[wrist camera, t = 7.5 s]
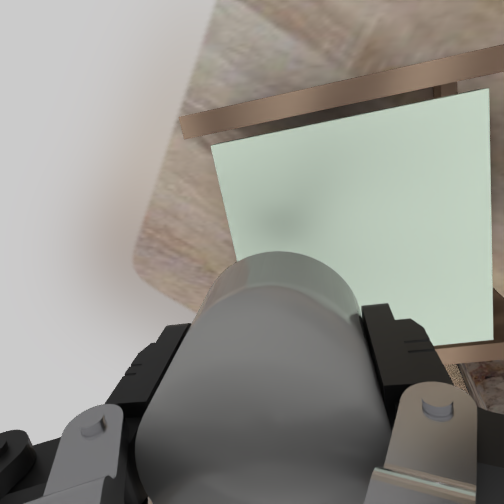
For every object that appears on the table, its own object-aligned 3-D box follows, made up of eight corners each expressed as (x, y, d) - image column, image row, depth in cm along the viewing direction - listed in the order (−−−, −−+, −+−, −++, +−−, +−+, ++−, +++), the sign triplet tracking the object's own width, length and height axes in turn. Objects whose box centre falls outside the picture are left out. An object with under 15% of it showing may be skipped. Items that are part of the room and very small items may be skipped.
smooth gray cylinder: (352, 240, 12) (390, 348, 6) (369, 385, 13) (409, 566, 8) (186, 262, 12) (102, 373, 7) (220, 396, 14) (170, 565, 9)
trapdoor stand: (447, 63, 33) (553, 33, 19) (457, 263, 38) (544, 355, 24) (227, 112, 36) (178, 117, 22) (265, 289, 42) (245, 383, 28)
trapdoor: (610, 60, 21) (657, 53, 18) (593, 301, 25) (629, 326, 22) (221, 141, 25) (210, 145, 22) (265, 338, 29) (260, 363, 26)
